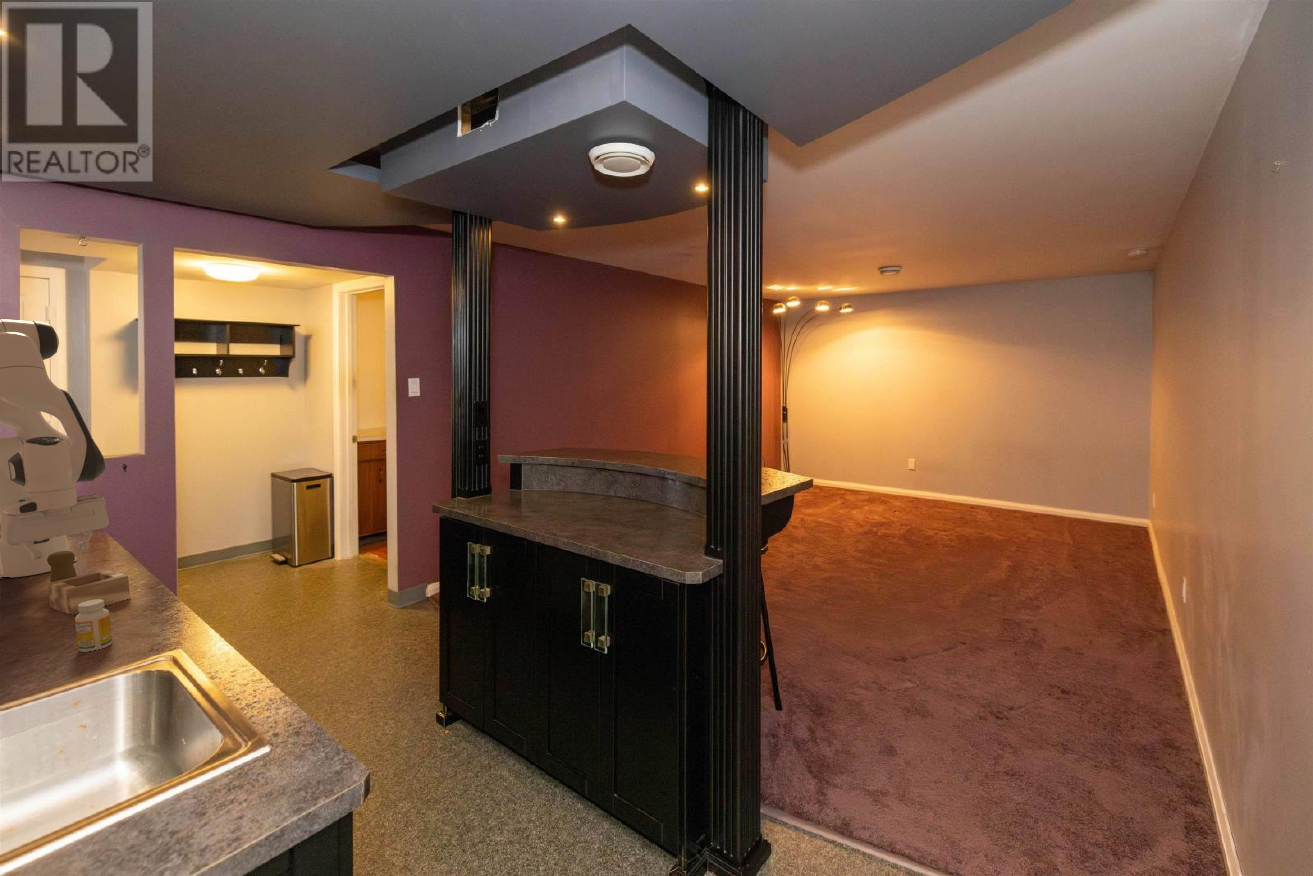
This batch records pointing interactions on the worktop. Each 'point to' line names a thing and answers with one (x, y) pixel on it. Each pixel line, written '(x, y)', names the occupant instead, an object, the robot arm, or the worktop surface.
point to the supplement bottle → (93, 626)
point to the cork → (61, 565)
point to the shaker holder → (88, 590)
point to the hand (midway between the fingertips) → (61, 553)
